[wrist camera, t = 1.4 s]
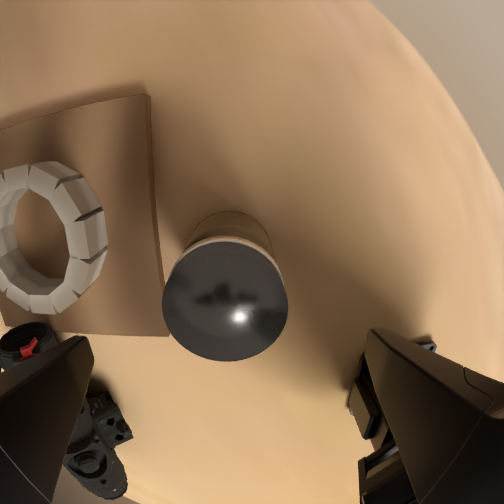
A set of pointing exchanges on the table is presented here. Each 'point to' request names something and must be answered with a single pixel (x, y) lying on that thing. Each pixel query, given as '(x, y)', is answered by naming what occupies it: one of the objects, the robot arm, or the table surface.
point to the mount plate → (82, 221)
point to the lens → (226, 290)
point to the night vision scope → (88, 423)
